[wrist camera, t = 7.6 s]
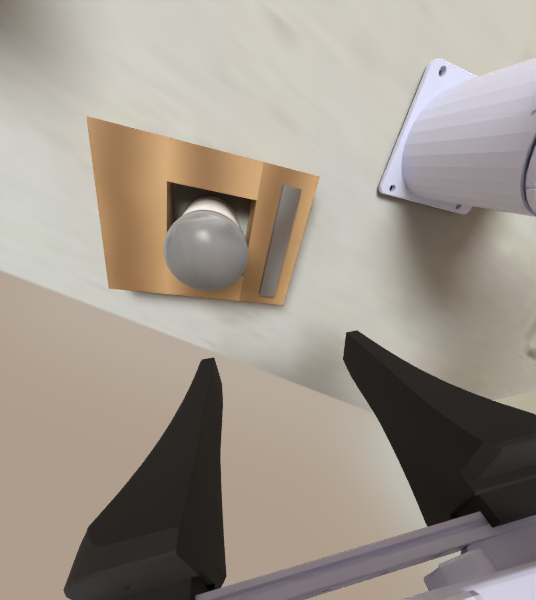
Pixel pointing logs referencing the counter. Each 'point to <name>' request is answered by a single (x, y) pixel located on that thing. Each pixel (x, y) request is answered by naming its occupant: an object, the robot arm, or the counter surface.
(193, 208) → the salt shaker
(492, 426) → the robot arm
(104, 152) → the jig
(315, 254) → the counter surface
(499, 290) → the counter surface
